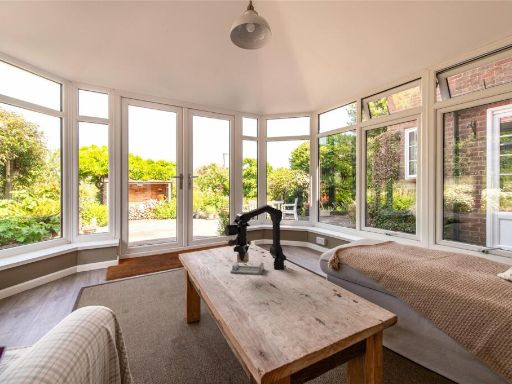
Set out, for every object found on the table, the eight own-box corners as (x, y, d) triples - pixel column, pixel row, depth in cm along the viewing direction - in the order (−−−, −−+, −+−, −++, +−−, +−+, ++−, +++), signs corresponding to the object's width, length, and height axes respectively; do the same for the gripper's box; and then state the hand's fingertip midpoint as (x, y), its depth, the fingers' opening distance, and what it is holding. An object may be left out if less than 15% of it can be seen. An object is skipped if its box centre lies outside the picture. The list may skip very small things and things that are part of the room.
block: (248, 260, 148) (248, 252, 148) (246, 263, 144) (246, 254, 144) (239, 260, 150) (239, 252, 150) (237, 262, 145) (237, 254, 145)
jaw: (238, 266, 162) (238, 262, 162) (235, 270, 155) (235, 265, 155) (235, 266, 163) (235, 261, 162) (232, 270, 155) (232, 265, 155)
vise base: (263, 268, 160) (263, 262, 160) (261, 274, 150) (260, 267, 150) (234, 267, 164) (234, 261, 164) (230, 273, 154) (230, 266, 154)
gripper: (234, 230, 157) (234, 254, 158) (224, 237, 139) (225, 264, 139) (250, 231, 155) (251, 255, 155) (243, 237, 137) (244, 265, 137)
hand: (243, 259), depth 147 cm, fingers closed on block, 4 cm apart
